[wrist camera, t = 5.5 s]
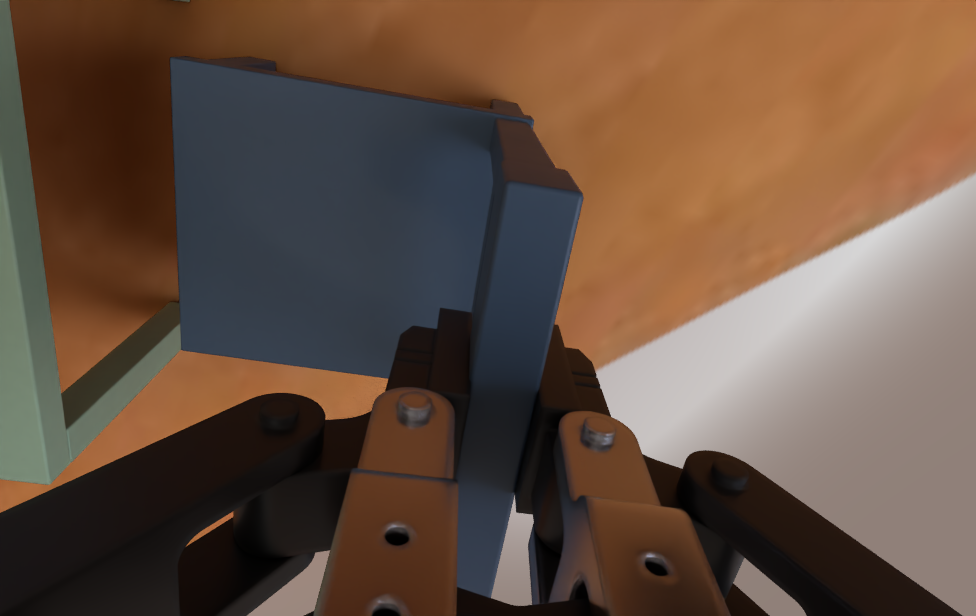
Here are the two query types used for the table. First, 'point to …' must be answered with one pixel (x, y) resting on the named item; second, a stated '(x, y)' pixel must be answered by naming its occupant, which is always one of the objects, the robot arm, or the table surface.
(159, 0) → the table surface
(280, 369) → the table surface
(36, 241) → the side table
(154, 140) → the table surface
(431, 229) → the chair
